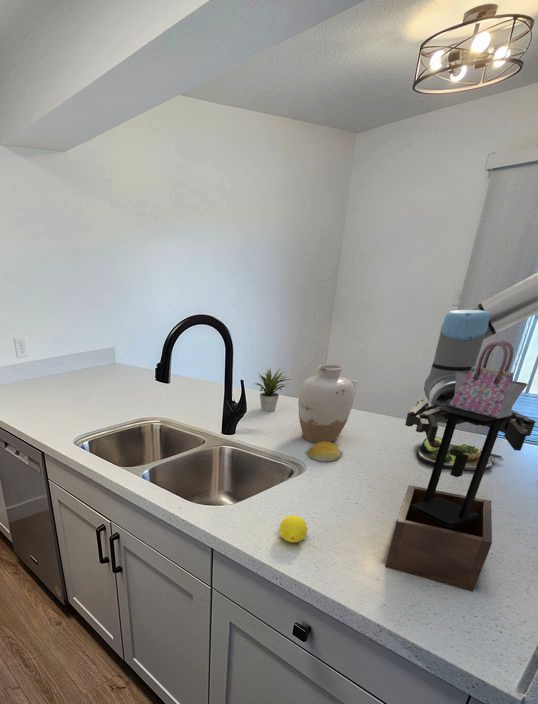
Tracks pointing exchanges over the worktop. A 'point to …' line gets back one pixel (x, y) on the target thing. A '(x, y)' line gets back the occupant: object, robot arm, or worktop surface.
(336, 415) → the vase
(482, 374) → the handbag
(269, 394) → the house plant
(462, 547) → the open brown wooden box
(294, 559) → the worktop surface
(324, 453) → the bread roll
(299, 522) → the lemon
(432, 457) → the salad plate
